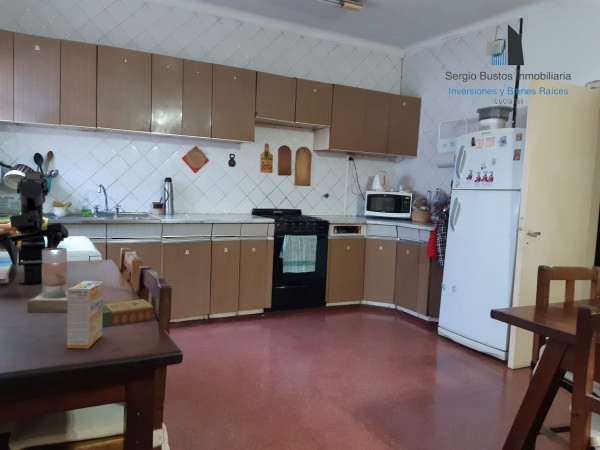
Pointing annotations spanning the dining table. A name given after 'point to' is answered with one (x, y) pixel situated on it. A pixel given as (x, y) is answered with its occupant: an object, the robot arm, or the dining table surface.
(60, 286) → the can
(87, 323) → the supplement box
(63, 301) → the board
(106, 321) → the carton
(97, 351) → the dining table surface
